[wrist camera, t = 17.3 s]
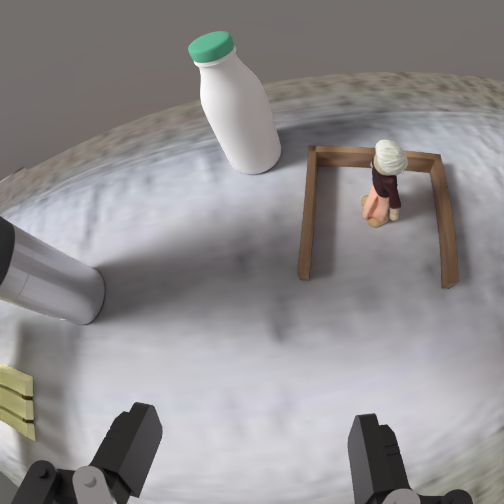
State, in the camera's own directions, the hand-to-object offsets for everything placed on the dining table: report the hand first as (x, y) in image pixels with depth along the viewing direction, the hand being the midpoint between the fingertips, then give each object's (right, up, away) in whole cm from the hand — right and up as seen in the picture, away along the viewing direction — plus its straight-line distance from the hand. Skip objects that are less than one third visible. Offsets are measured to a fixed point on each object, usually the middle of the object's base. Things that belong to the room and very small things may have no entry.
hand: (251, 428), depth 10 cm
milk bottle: (+1, +21, +32) cm, 38 cm away
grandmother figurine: (+15, +11, +24) cm, 31 cm away
